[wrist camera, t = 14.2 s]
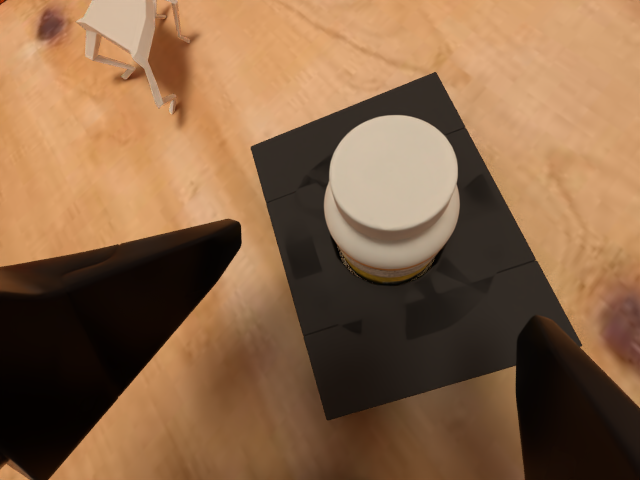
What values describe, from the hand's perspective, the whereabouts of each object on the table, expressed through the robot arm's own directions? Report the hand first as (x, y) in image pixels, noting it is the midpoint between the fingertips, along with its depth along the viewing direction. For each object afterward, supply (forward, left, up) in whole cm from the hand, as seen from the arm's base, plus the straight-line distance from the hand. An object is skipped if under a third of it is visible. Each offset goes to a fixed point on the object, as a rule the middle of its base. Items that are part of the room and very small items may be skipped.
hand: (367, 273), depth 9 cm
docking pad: (+3, -2, -9) cm, 10 cm away
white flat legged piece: (+23, +10, -9) cm, 27 cm away
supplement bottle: (+3, -2, -9) cm, 10 cm away
